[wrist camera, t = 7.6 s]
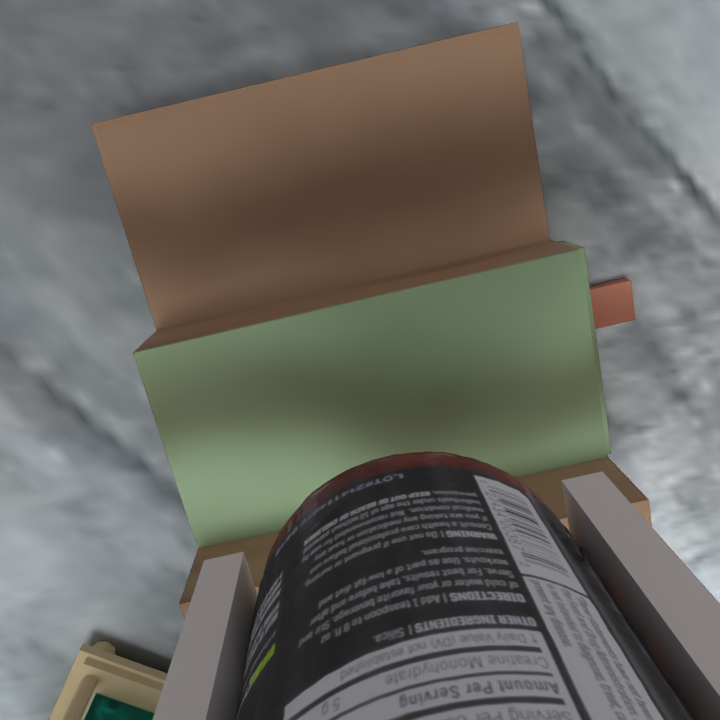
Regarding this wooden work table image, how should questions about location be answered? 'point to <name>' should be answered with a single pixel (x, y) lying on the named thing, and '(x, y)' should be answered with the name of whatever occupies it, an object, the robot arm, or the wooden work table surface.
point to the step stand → (358, 286)
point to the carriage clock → (108, 687)
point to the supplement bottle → (440, 607)
